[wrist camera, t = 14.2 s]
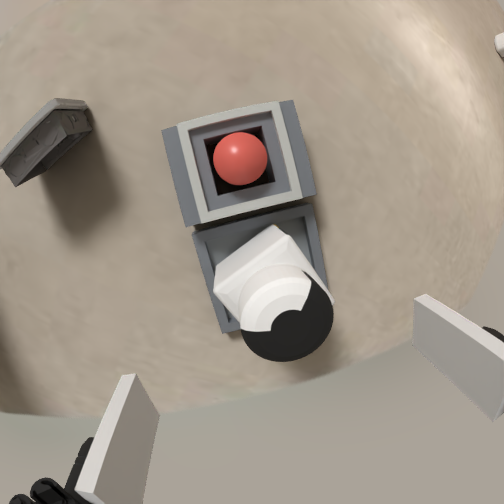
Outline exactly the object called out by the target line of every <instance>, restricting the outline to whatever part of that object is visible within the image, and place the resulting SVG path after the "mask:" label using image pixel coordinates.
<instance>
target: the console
mask: <svg viewBox="0 0 504 504" xmlns="http://www.w3.org/2000/svg"><path fill="white" fill-rule="evenodd" d="M161 131H162V135H163V140H164V144H165V148H166V153H167V157H168V161H169V165H170V169H171V173H172V177H173V181H174V185H175V189H176V193H177V197H178V201H179V204H180V208H181V212H182V216H183V219H184V223H185V226H186V227H188V226H192V225H196V224H199V223H201V224H202V223H206V222H209V221H213V220H217V219H221V218H224V217H228V216H232V215H236V214H240V213H244V212H248V211H252V210H256V209H260V208H264V207H268V206H272V205H276V204H280V203H285V202H289V201H293V200H297V199H302V198H303V197H307V196H312V195H316V194H317V193H316V189H315V184H314V180H313V176H312V171H311V167H310V163H309V159H308V154H307V150H306V146H305V142H304V139H303V135H302V131H301V127H300V123H299V120H298V116H297V112H296V109H295V105H294V102H293V100H289V101H283V102H279V101H272V102H267V103H261V104H256V105H251V106H246V107H241V108H236V109H232V110H227V111H223V112H219V113H215V114H211V115H207V116H203V117H199V118H196V119H192V120H188V121H185V122H181V123H178V124H177V126H174V127H171V128H167V129H164V130H161ZM238 132H243V133H248V134H251V135H254V134H257V136H258V139H259V140H260V141H261V142H262V144H263V145H264V147H265V149H266V152H267V165H266V172H267V176H268V180H269V183H265V184H261V185H257V186H253V187H249V188H245V189H240V190H236V191H233V192H229V193H225V194H221V195H219V194H218V190H217V186H216V182H215V178H214V174H213V170H212V166H211V162H210V158H209V154H208V150H207V146H208V145H211V144H215V143H219V142H220V141H221V140H222V139H223V138H224V137H226V136H228V135H230V134H233V133H238ZM271 224H275V225H277V226H278V227H279V228H280V229H282V230H283V231H284V232H286V233H287V234H288V235H290V236H291V237H292V239H293V240H294V242H295V243H296V244H297V246H298V247H299V249H300V250H301V252H302V253H303V254H304V256H305V257H306V259H307V260H308V262H309V263H310V264H311V266H312V267H313V269H314V270H315V272H316V273H317V275H318V276H319V278H320V279H321V280H322V282H323V283H324V285H325V286H326V288H327V289H328V286H327V280H326V274H325V268H324V263H323V257H322V251H321V246H320V241H319V235H318V230H317V225H316V220H315V215H314V211H313V206H312V204H311V203H304V204H300V205H295V206H291V207H287V208H283V209H279V210H275V211H271V212H266V213H262V214H258V215H254V216H250V217H247V218H243V219H239V220H235V221H231V222H227V223H223V224H219V225H216V226H212V227H208V228H204V229H201V230H197V231H194V232H193V233H192V237H193V240H194V244H195V247H196V251H197V254H198V258H199V261H200V264H201V268H202V271H203V274H204V278H205V281H206V284H207V288H208V291H209V294H210V297H211V300H212V303H213V307H214V310H215V313H216V316H217V319H218V322H219V325H220V328H221V331H222V334H223V333H227V332H232V331H236V330H240V329H241V327H240V323H239V322H238V321H237V319H236V318H235V317H234V316H233V315H232V314H231V313H230V311H229V310H228V309H227V308H226V307H225V306H224V304H223V303H222V302H221V301H220V300H219V299H218V297H217V296H216V295H215V294H214V292H213V288H214V279H215V271H216V266H217V265H218V264H219V263H220V262H222V261H223V260H224V259H226V258H227V257H228V256H230V255H231V254H232V253H234V252H235V251H236V250H238V249H239V248H240V247H242V246H243V245H244V244H246V243H247V242H248V241H250V240H251V239H252V238H254V237H255V236H256V235H258V234H259V233H260V232H262V231H263V230H264V229H266V228H267V227H268V226H270V225H271Z"/></svg>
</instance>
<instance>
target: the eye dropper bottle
mask: <svg viewBox="0 0 504 504" xmlns="http://www.w3.org/2000/svg"><path fill="white" fill-rule="evenodd" d="M494 43H495V47H496V50H497V52H498V53H499V54H500V55H501V56H502V57H503V58H504V33H501V34H498V35H496V36H495V38H494Z"/></svg>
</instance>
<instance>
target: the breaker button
mask: <svg viewBox="0 0 504 504" xmlns="http://www.w3.org/2000/svg"><path fill="white" fill-rule="evenodd" d="M213 162H214V166H215V169H216V171H217V173H218V174H219V176H220V177H221V178H222V179H223V180H224V181H226V182H227V183H229V184H233V185H244V184H248V183H251V182H253V181H255V180H256V179H258V178H259V177H260V176H261V175H262V173H263V172H264V170H265V168H266V165H267V152H266V149H265V147H264V145H263V144H262V142H261V141H260V140H259V139H258V138H256V137H255V136H253V135H251V134H248V133H243V132H238V133H233V134H230V135H228V136H226V137H224V138H223V139H222V140H221V141H220V142H219V143H218V145H217V146H216V148H215V151H214V156H213Z"/></svg>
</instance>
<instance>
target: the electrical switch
mask: <svg viewBox="0 0 504 504" xmlns="http://www.w3.org/2000/svg"><path fill="white" fill-rule="evenodd" d="M87 107H88V106H87V104H86V103H85V101H81V100H71V99H60V98H54V99H53V100H51V101H49V102H48V103H47V104H46V105H45V106H43V107H42V108H41V109H40V110H39V111H38V112H37V113H36V114H35V115H34V116H33V117H32V118H31V119H30V120H29V121H28V122H27V123H26V124H25V125H24V126H23V128H22V129H21V130H20V131H19V132H18V133H17V134H16V135H15V136H14V137H13V139H12V140H11V141H10V142H9V143H8V144H7V145H6V147H5V148H4V149H3V150H2V151H1V153H0V169H2V168H3V170H4V171H5V173H6V175H7V176H8V177H9V178H10V179H11V181H12V183H13V184H14V186H15V187H17V186H19V185H21V184H22V183H24V182H26V181H28V180H30V179H32V178H33V177H35V176H37V175H39V174H41V173H43V172H45V171H46V170H48V169H49V168H50V167H51V166H52V165H53V164H54V163H55V162H56V161H57V160H58V159H59V158H60V157H61V156H62V155H64V154H65V153H66V152H67V151H68V150H69V149H70V148H71V147H73V146H74V145H75V144H76V143H77V142H78V141H80V140H81V139H82V138H83V137H84V136H86V135H87V134H88V133H89V132H91V131H92V130H93V129H92V128H91V126H90V124H89V123H88V120H87V118H86V116H85V114H84V112H83V111H84V110H86V109H87ZM67 134H68V135H67ZM80 135H81V136H80ZM67 136H68V137H69V138H68V137H67ZM63 139H64V141H63V142H62V143H60V142H61V141H62V140H63ZM72 139H74V140H72ZM56 145H57V146H56ZM44 167H45V168H46V170H45V168H44Z"/></svg>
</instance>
